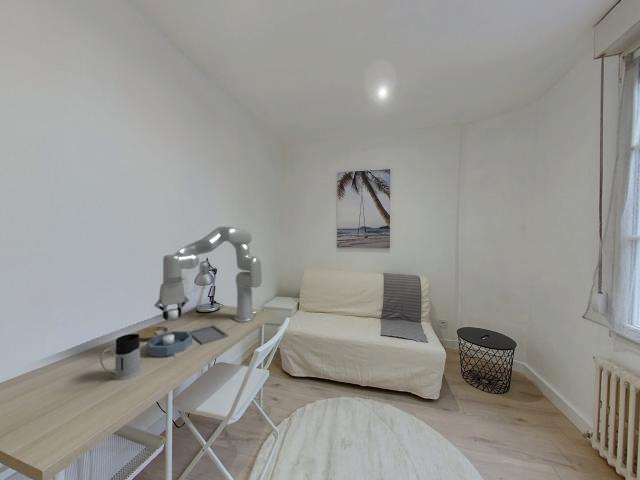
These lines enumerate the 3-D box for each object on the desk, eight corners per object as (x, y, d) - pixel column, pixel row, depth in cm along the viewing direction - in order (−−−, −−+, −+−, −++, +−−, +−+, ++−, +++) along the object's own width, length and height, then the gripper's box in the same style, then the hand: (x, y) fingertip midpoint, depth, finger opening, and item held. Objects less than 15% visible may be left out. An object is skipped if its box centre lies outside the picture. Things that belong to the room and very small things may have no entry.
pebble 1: (176, 316, 123) (176, 308, 123) (179, 318, 120) (179, 310, 120) (164, 318, 120) (164, 310, 120) (167, 321, 116) (167, 312, 116)
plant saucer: (152, 343, 128) (152, 338, 128) (128, 340, 130) (128, 336, 130) (174, 332, 142) (174, 328, 142) (152, 329, 145) (152, 325, 145)
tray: (213, 327, 149) (213, 324, 149) (228, 337, 136) (228, 334, 136) (188, 334, 139) (188, 331, 139) (202, 346, 126) (202, 342, 126)
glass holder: (146, 369, 104) (146, 334, 103) (109, 390, 90) (109, 350, 90) (130, 366, 106) (130, 332, 106) (92, 386, 93) (92, 346, 92)
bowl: (183, 337, 136) (183, 328, 136) (196, 348, 123) (196, 338, 123) (144, 347, 123) (144, 338, 123) (153, 361, 110) (153, 351, 110)
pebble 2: (172, 340, 129) (172, 333, 129) (175, 344, 126) (175, 336, 126) (161, 343, 125) (161, 336, 125) (164, 347, 122) (164, 339, 122)
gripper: (188, 277, 128) (188, 312, 129) (149, 281, 116) (149, 319, 116) (193, 279, 123) (193, 315, 123) (153, 284, 111) (153, 324, 111)
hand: (172, 317), depth 120 cm, fingers closed on pebble 1, 4 cm apart
